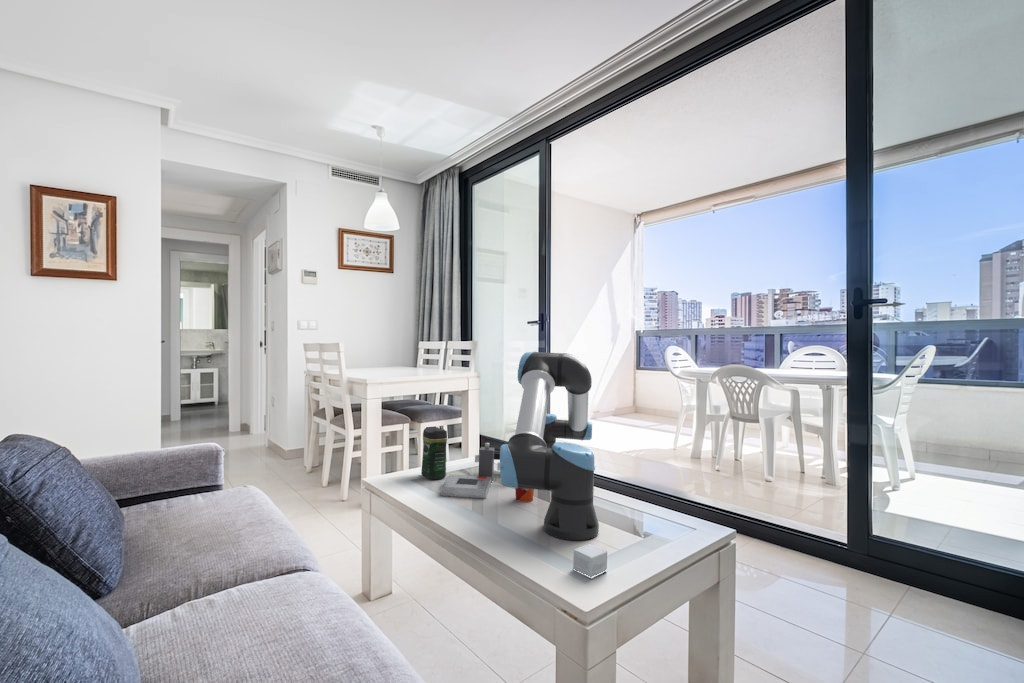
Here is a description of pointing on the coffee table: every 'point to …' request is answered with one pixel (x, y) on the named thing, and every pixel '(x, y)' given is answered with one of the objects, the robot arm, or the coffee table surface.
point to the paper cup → (524, 494)
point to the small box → (589, 560)
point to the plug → (486, 461)
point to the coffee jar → (434, 453)
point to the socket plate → (466, 486)
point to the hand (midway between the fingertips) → (486, 462)
